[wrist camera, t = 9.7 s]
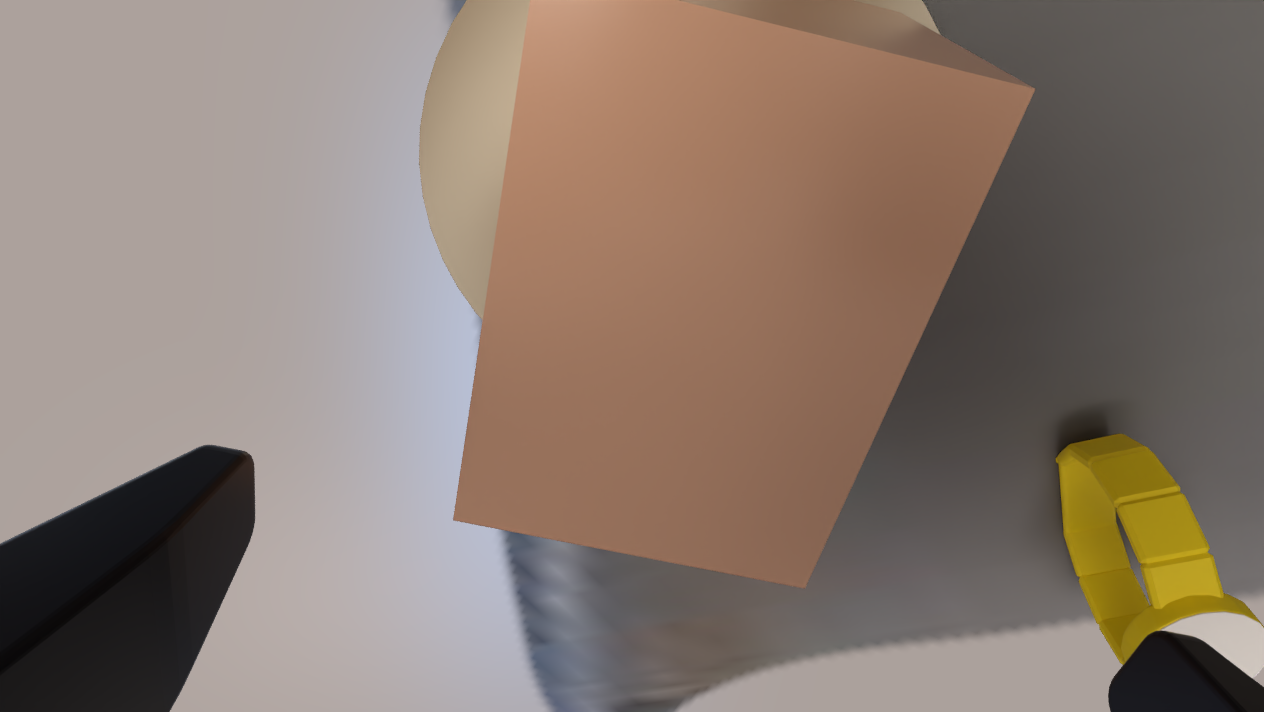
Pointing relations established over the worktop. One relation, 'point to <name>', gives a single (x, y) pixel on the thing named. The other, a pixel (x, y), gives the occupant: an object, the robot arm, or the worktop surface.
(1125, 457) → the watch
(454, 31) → the coaster
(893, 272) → the salmon pink block
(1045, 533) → the worktop surface
